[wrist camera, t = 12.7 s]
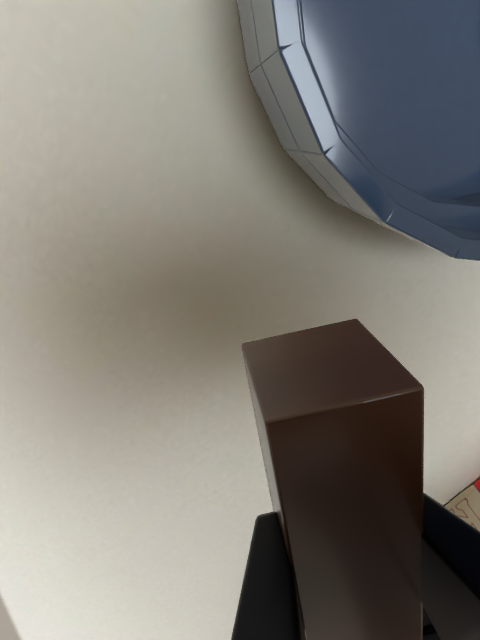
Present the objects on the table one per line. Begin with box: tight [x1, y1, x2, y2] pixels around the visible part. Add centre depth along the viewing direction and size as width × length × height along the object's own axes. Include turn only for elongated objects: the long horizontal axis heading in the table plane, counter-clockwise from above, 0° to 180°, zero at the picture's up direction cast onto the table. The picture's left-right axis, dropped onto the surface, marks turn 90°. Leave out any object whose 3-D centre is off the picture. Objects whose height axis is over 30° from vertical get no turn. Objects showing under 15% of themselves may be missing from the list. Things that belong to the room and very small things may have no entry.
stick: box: [241, 319, 424, 640], centre depth 8 cm, size 7×2×2 cm, turn 10°
